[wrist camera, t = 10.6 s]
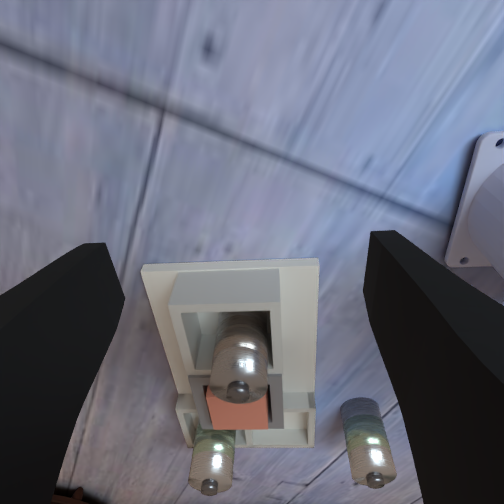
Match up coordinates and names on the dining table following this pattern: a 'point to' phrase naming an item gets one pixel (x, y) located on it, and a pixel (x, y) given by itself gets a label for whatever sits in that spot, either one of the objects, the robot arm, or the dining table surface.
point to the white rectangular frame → (205, 327)
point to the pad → (237, 413)
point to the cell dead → (240, 357)
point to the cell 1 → (212, 460)
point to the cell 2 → (367, 443)
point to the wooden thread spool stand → (68, 503)
